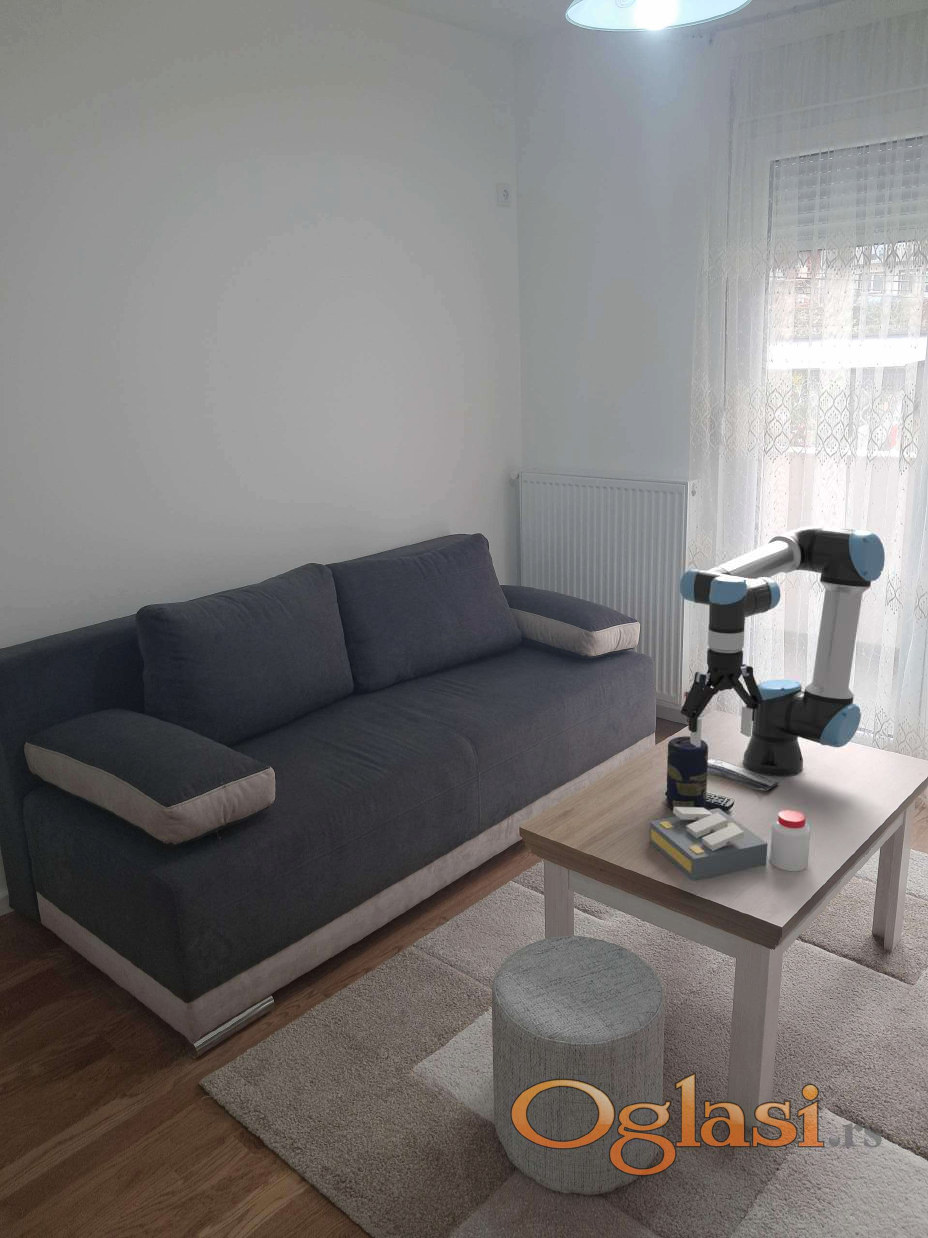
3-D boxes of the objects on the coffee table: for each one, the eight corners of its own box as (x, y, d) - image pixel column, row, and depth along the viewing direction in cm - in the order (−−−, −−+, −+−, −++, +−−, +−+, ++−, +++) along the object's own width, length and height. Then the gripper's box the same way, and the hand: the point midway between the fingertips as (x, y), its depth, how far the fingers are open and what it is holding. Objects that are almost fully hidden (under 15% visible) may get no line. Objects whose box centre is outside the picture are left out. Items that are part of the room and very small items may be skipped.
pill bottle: (764, 854, 206) (767, 808, 203) (798, 852, 206) (801, 806, 203) (778, 872, 198) (781, 825, 195) (814, 870, 199) (817, 822, 196)
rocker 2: (717, 818, 208) (716, 812, 208) (728, 826, 205) (727, 820, 204) (686, 831, 206) (685, 825, 206) (697, 840, 203) (696, 833, 202)
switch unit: (717, 828, 218) (718, 807, 217) (766, 864, 202) (767, 842, 200) (648, 842, 212) (649, 821, 211) (692, 880, 196) (693, 858, 194)
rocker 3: (733, 830, 203) (732, 823, 202) (745, 839, 199) (744, 832, 199) (702, 843, 201) (701, 837, 200) (713, 853, 197) (712, 846, 197)
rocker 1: (701, 814, 214) (703, 807, 214) (711, 822, 210) (713, 815, 210) (671, 813, 211) (673, 806, 211) (681, 821, 208) (683, 814, 207)
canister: (706, 817, 223) (709, 746, 219) (665, 814, 225) (668, 744, 220) (704, 800, 232) (708, 731, 228) (665, 797, 234) (667, 729, 230)
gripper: (760, 636, 212) (755, 725, 217) (666, 651, 202) (663, 743, 208) (783, 645, 205) (777, 736, 210) (687, 660, 196) (683, 755, 201)
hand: (720, 739), depth 209 cm, fingers open, 13 cm apart
